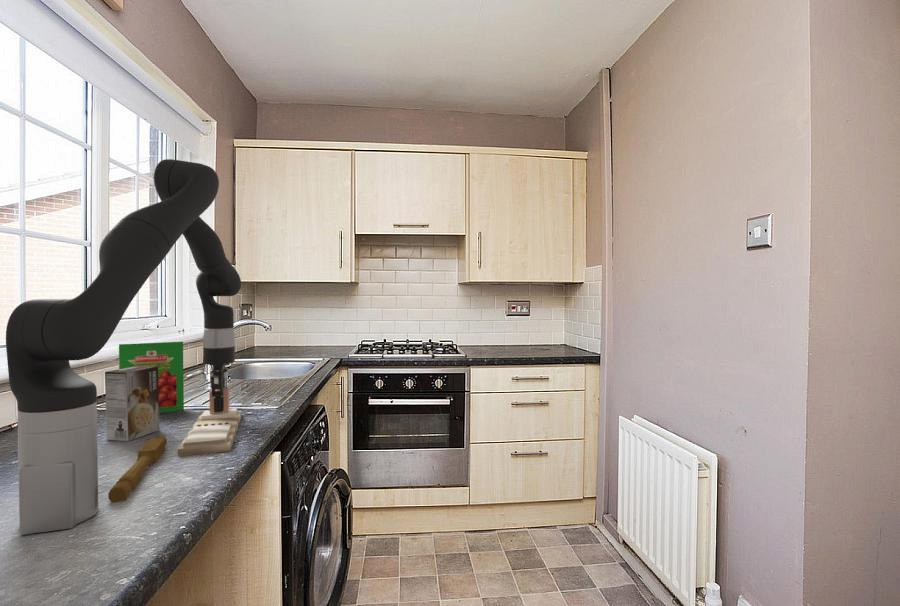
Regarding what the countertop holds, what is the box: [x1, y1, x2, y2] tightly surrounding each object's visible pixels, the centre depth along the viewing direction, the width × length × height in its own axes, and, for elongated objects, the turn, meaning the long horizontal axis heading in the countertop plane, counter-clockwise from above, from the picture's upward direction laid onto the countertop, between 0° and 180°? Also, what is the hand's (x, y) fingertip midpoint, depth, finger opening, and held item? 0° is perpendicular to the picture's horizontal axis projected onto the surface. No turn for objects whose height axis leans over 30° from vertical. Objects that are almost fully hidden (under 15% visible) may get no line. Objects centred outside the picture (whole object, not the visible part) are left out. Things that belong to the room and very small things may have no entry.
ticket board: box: [177, 410, 243, 457], centre depth 115 cm, size 30×10×3 cm, turn 20°
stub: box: [200, 387, 238, 420], centre depth 125 cm, size 6×8×7 cm
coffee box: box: [104, 366, 161, 442], centre depth 113 cm, size 9×6×16 cm
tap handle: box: [107, 435, 168, 503], centre depth 91 cm, size 3×3×30 cm
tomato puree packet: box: [118, 341, 185, 414], centre depth 133 cm, size 15×1×20 cm, turn 120°
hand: (219, 409), depth 125 cm, fingers open, 3 cm apart
